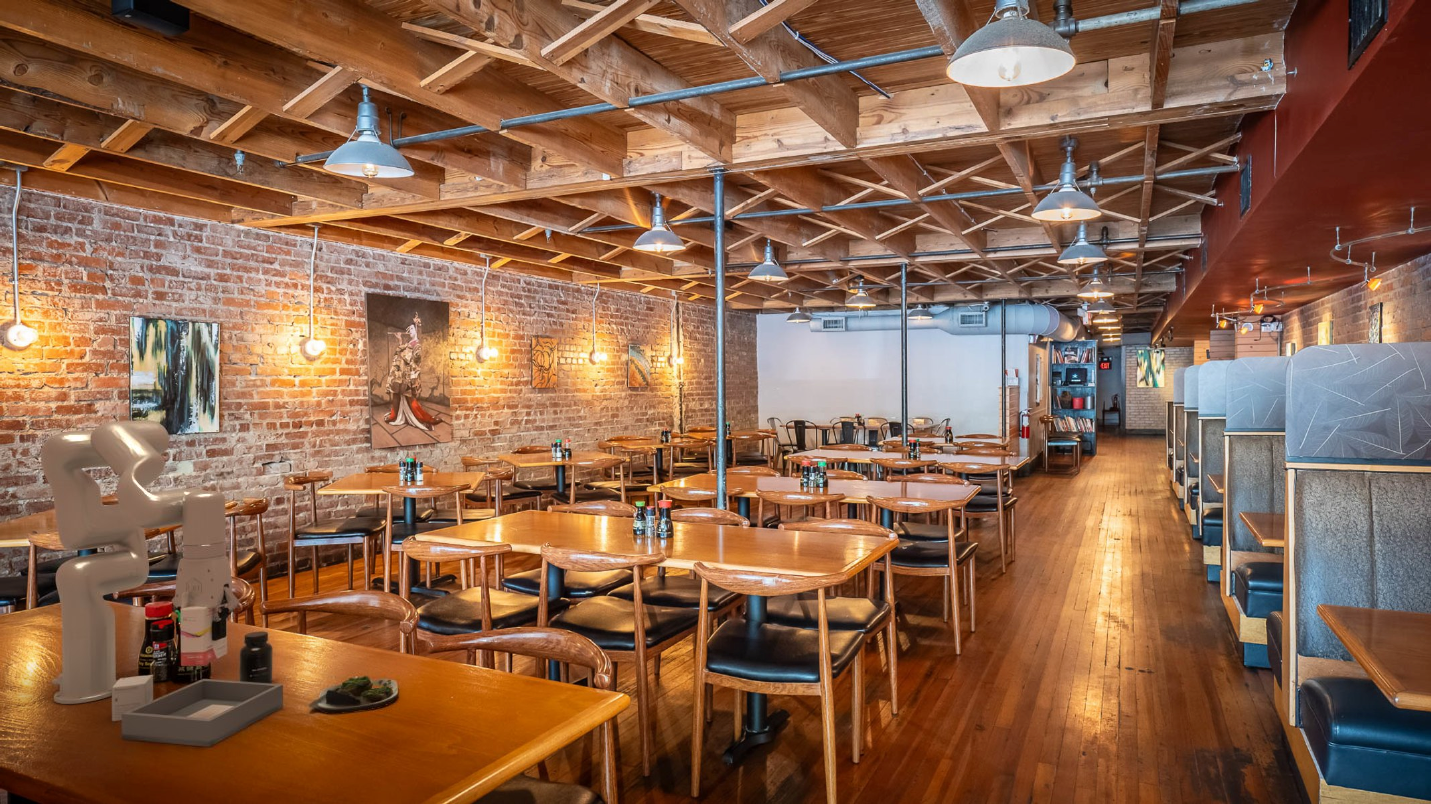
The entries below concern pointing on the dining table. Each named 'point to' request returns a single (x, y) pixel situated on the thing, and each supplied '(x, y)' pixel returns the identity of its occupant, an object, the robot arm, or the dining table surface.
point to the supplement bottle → (256, 659)
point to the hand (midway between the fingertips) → (205, 637)
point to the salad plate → (356, 695)
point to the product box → (131, 694)
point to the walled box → (202, 712)
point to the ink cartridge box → (199, 635)
